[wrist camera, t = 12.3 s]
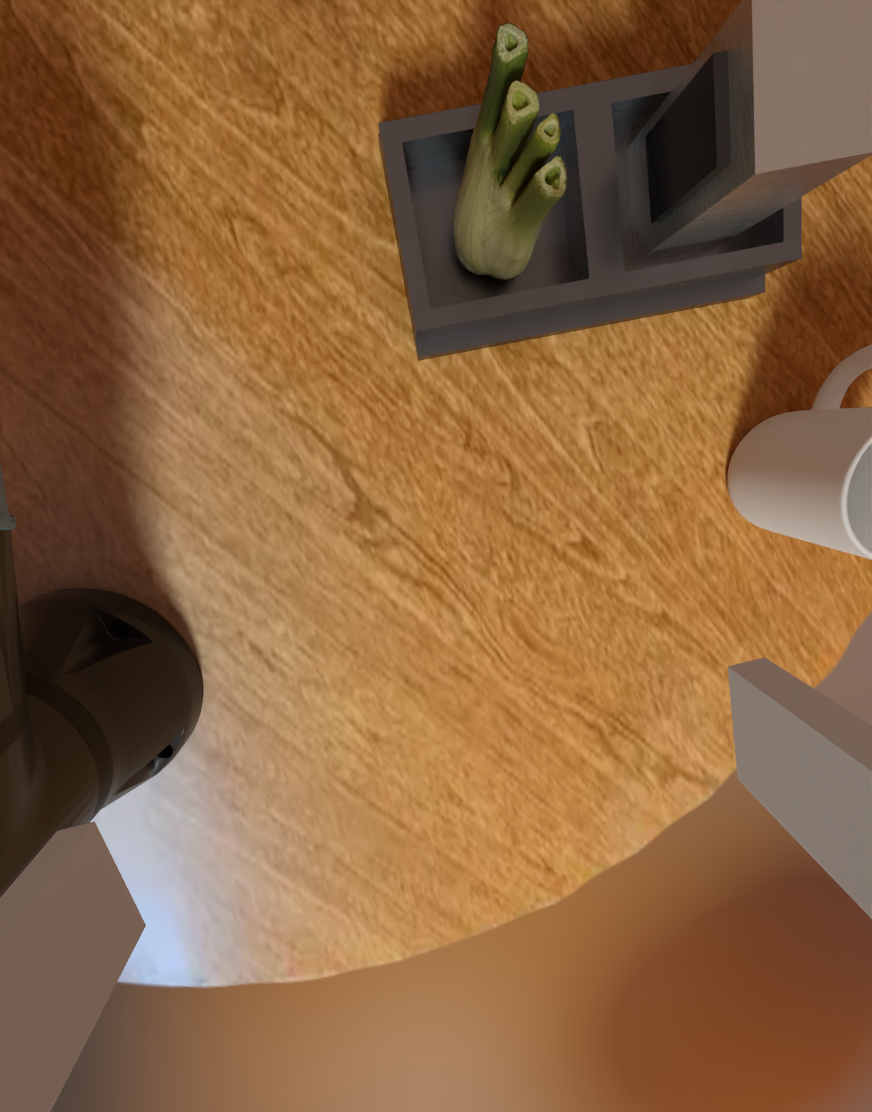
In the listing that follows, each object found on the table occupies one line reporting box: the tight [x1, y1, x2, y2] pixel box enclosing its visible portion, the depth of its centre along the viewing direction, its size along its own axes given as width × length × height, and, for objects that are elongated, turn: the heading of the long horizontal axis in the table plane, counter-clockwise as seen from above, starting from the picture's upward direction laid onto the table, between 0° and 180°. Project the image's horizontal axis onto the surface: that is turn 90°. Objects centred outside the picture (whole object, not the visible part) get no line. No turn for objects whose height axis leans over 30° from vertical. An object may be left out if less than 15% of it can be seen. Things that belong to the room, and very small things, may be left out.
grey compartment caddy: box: [378, 0, 872, 361], centre depth 25 cm, size 22×12×12 cm, turn 100°
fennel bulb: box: [453, 23, 567, 280], centre depth 24 cm, size 6×5×12 cm
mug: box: [727, 345, 872, 559], centre depth 30 cm, size 12×8×10 cm
